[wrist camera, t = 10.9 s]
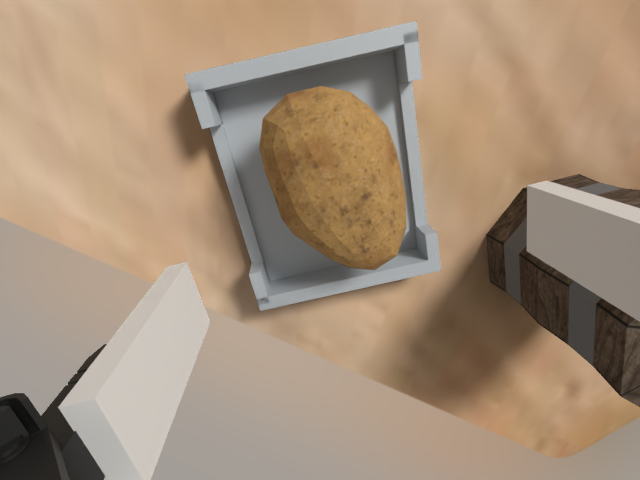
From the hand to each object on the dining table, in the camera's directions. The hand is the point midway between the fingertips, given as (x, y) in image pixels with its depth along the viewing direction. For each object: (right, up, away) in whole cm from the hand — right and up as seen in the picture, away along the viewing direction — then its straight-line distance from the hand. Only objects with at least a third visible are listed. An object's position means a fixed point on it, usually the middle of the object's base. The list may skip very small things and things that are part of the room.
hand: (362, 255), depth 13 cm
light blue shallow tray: (-1, +6, +17) cm, 18 cm away
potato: (-1, +6, +16) cm, 18 cm away
